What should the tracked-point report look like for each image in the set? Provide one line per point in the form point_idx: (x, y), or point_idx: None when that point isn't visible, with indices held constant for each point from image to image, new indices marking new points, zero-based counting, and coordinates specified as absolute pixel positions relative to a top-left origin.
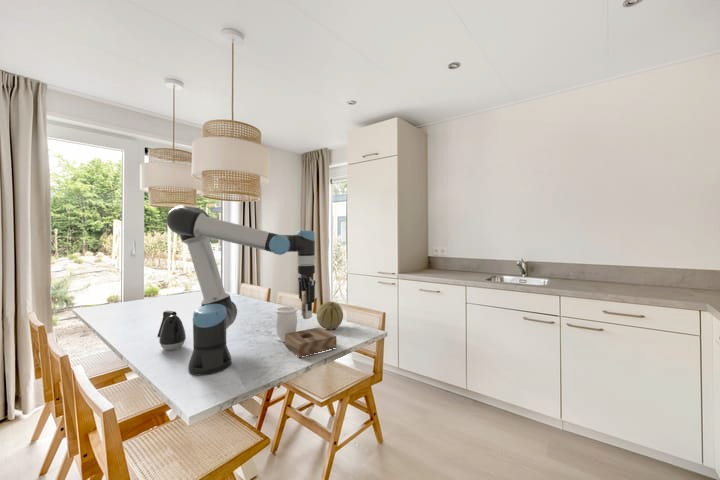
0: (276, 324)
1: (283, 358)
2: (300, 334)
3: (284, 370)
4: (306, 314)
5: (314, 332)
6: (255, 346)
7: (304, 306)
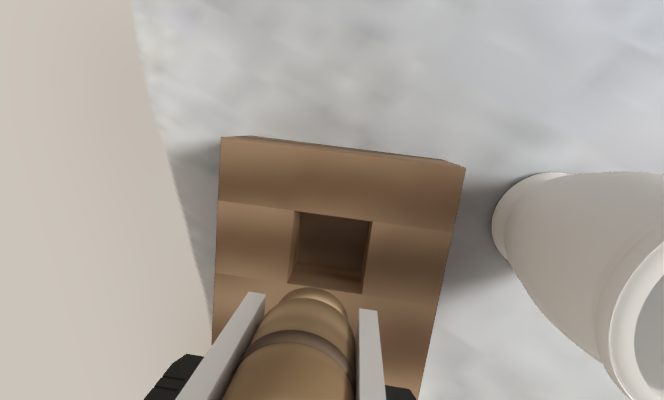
0: (641, 172)
1: (300, 72)
2: (376, 238)
3: (167, 8)
4: (234, 314)
5: (349, 322)
6: (581, 18)
7: (243, 378)
